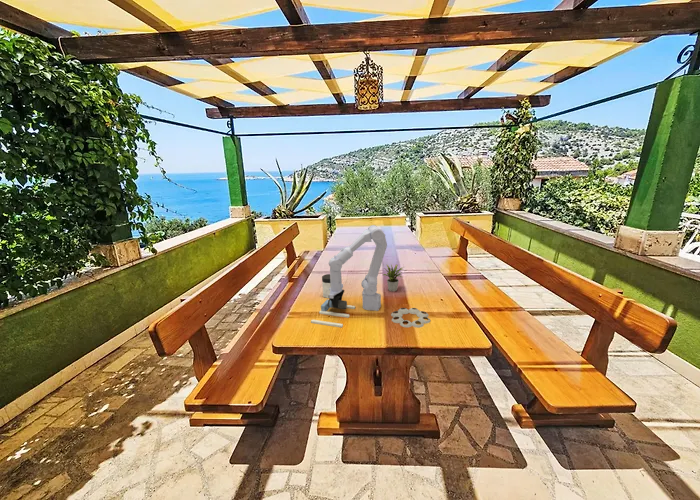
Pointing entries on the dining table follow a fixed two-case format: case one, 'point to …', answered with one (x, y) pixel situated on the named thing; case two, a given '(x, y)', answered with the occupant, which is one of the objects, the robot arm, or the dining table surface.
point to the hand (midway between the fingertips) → (337, 305)
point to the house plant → (393, 281)
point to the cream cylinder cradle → (324, 311)
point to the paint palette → (400, 320)
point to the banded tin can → (341, 304)
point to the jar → (326, 285)
